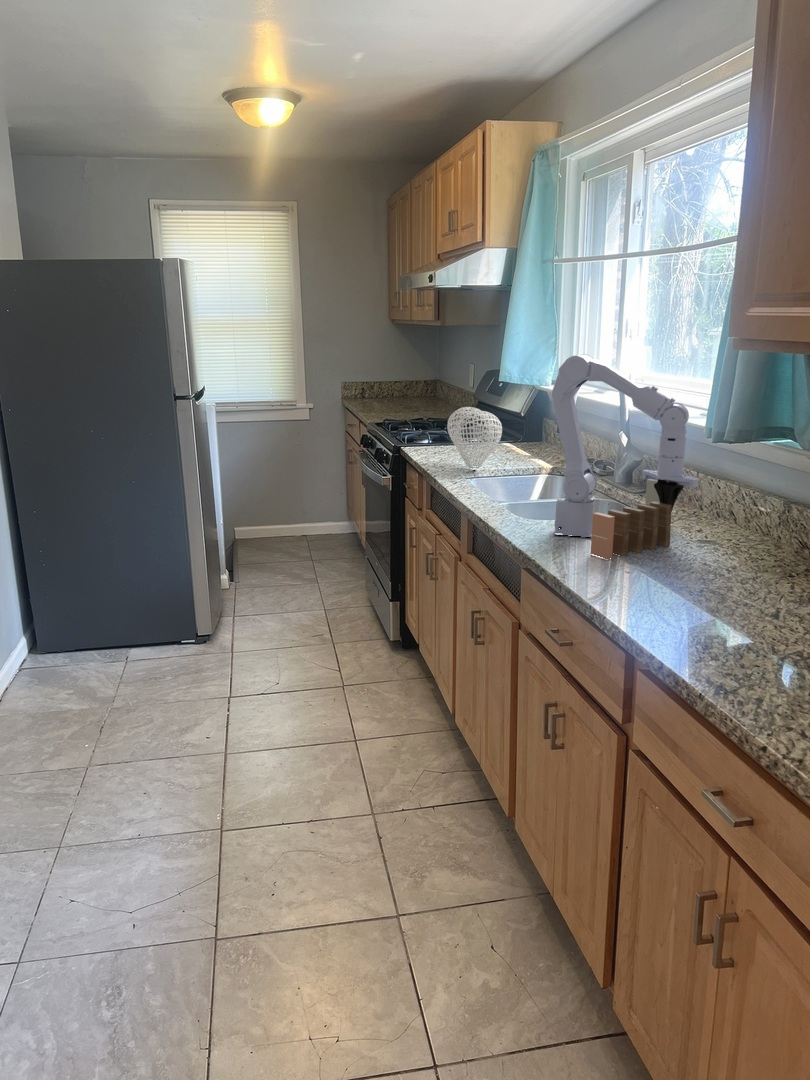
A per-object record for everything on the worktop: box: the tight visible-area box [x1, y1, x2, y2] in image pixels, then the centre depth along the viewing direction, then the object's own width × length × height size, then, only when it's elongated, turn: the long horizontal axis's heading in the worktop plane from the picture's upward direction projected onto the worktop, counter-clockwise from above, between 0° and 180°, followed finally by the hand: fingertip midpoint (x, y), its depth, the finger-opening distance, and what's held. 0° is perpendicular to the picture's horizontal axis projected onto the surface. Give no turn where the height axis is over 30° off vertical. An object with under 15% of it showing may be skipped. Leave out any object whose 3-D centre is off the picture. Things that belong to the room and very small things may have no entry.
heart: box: [446, 406, 503, 469], centre depth 284 cm, size 28×16×22 cm, turn 12°
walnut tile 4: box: [607, 509, 630, 557], centre depth 182 cm, size 2×5×10 cm, turn 34°
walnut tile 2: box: [636, 503, 659, 551], centre depth 188 cm, size 2×5×10 cm, turn 34°
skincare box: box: [644, 479, 660, 506], centre depth 209 cm, size 6×4×12 cm
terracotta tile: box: [590, 511, 615, 559], centre depth 179 cm, size 2×5×10 cm, turn 34°
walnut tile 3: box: [622, 506, 645, 554], centre depth 185 cm, size 2×5×10 cm, turn 34°
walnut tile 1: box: [650, 501, 673, 548], centre depth 190 cm, size 2×5×10 cm, turn 34°
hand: (666, 512), depth 191 cm, fingers closed
